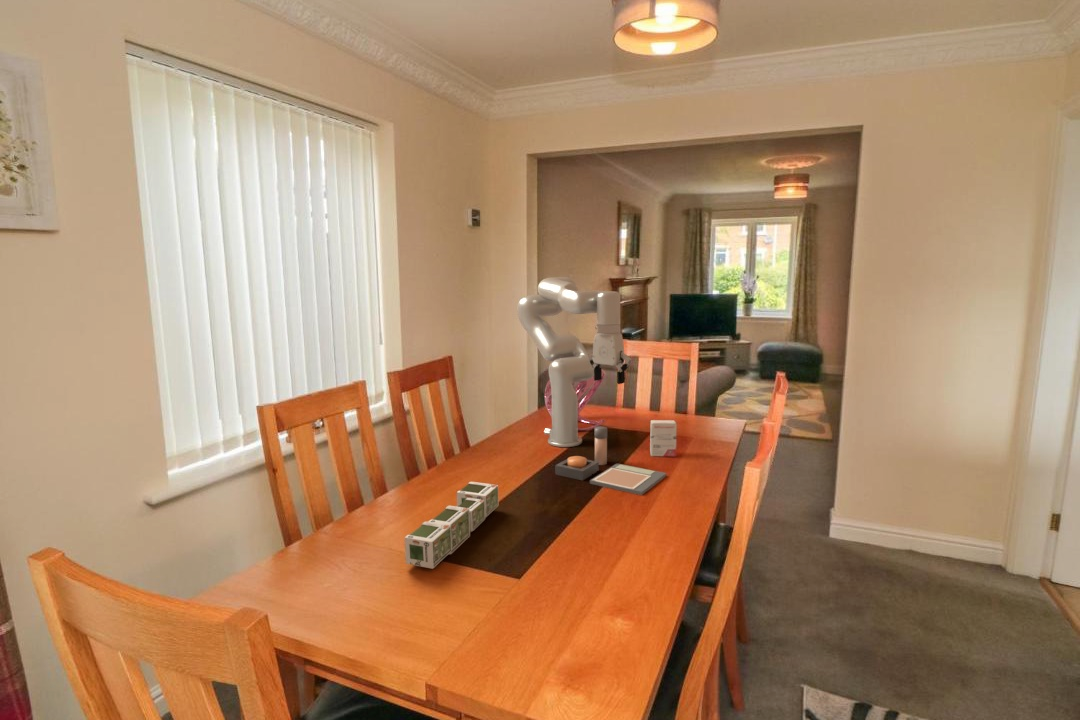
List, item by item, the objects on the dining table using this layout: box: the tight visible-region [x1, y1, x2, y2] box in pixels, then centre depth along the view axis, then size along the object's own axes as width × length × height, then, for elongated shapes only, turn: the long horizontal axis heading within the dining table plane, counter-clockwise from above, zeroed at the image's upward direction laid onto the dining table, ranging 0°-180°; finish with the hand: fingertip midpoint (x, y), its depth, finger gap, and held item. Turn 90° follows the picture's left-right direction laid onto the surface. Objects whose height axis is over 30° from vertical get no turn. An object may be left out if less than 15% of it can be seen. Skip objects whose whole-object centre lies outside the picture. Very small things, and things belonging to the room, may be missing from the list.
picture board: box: [589, 462, 667, 496], centre depth 181 cm, size 17×18×1 cm
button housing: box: [554, 458, 600, 481], centre depth 188 cm, size 10×10×3 cm
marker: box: [593, 425, 608, 466], centre depth 196 cm, size 4×4×12 cm
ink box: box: [649, 419, 678, 457], centre depth 204 cm, size 9×5×12 cm, turn 84°
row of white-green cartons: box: [404, 481, 500, 570], centre depth 145 cm, size 35×8×7 cm, turn 160°
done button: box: [567, 455, 588, 469], centre depth 188 cm, size 6×6×2 cm
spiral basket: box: [544, 369, 606, 432], centre depth 238 cm, size 28×28×27 cm
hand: (609, 381), depth 195 cm, fingers open, 9 cm apart
